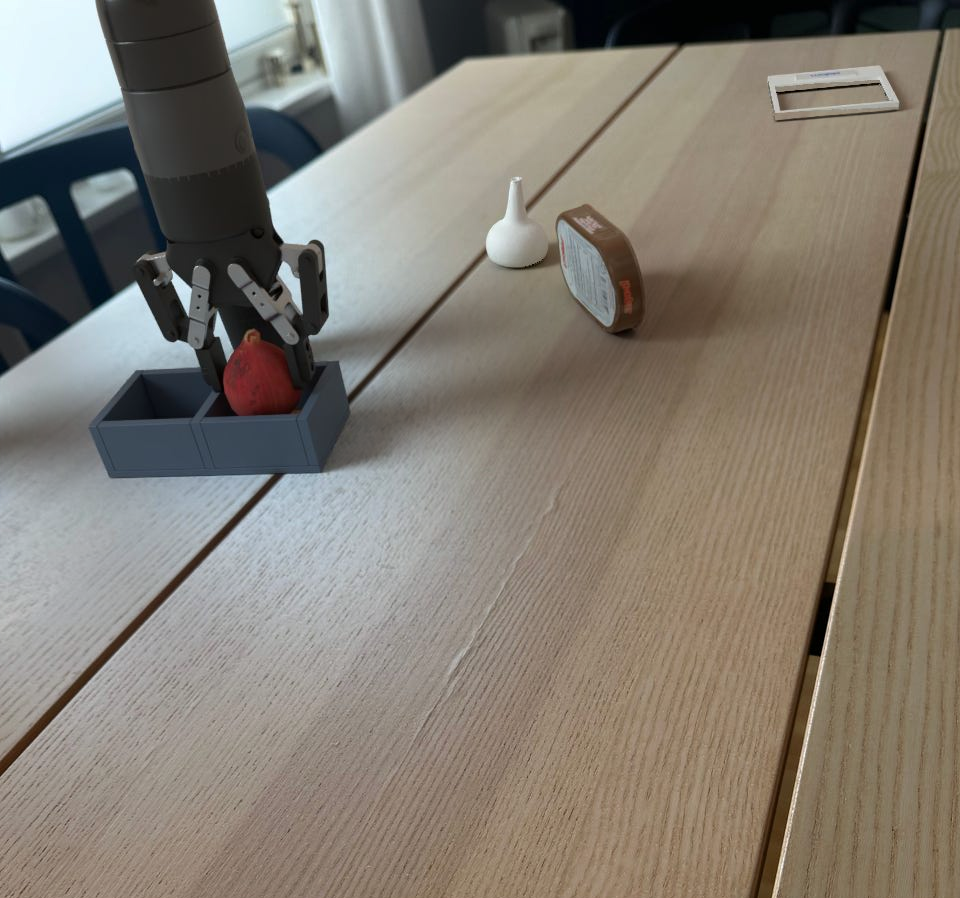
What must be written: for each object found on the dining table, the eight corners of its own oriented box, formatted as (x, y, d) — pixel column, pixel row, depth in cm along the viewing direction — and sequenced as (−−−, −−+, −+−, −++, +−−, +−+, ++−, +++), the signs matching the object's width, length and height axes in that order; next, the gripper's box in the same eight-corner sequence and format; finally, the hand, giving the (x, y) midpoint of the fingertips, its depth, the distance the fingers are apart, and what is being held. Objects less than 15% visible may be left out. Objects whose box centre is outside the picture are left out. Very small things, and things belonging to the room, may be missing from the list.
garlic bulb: (494, 249, 107) (485, 169, 101) (553, 246, 105) (547, 165, 100) (482, 273, 102) (472, 191, 97) (544, 271, 101) (537, 187, 95)
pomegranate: (268, 454, 77) (239, 355, 72) (223, 433, 80) (193, 338, 75) (326, 420, 80) (302, 323, 74) (280, 402, 83) (255, 308, 78)
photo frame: (880, 63, 137) (899, 100, 124) (878, 72, 138) (898, 110, 125) (768, 74, 140) (775, 111, 127) (767, 83, 141) (774, 120, 127)
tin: (649, 342, 86) (647, 242, 81) (614, 350, 86) (610, 251, 80) (585, 281, 97) (580, 190, 92) (554, 289, 97) (548, 198, 91)
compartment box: (109, 478, 80) (87, 426, 77) (154, 419, 87) (135, 369, 84) (321, 472, 77) (306, 418, 74) (350, 412, 83) (338, 360, 80)
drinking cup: (283, 381, 89) (217, 137, 76) (209, 377, 92) (132, 141, 79) (320, 342, 94) (264, 108, 81) (249, 339, 97) (183, 112, 84)
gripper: (316, 127, 68) (364, 360, 79) (120, 144, 71) (193, 367, 82) (284, 162, 62) (340, 408, 73) (72, 180, 65) (157, 414, 76)
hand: (262, 385), depth 78 cm, fingers closed on pomegranate, 6 cm apart
